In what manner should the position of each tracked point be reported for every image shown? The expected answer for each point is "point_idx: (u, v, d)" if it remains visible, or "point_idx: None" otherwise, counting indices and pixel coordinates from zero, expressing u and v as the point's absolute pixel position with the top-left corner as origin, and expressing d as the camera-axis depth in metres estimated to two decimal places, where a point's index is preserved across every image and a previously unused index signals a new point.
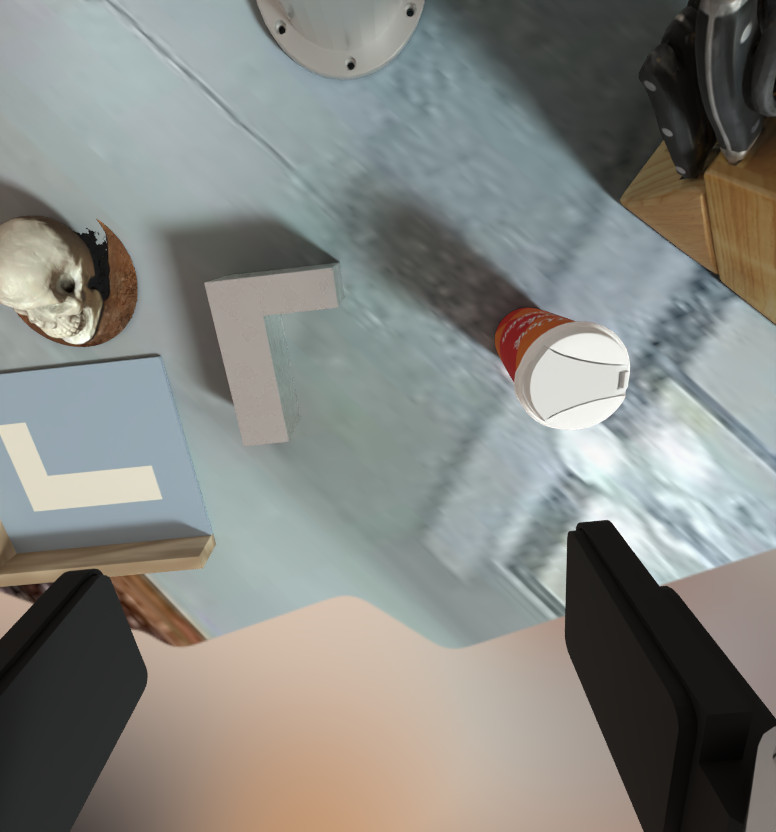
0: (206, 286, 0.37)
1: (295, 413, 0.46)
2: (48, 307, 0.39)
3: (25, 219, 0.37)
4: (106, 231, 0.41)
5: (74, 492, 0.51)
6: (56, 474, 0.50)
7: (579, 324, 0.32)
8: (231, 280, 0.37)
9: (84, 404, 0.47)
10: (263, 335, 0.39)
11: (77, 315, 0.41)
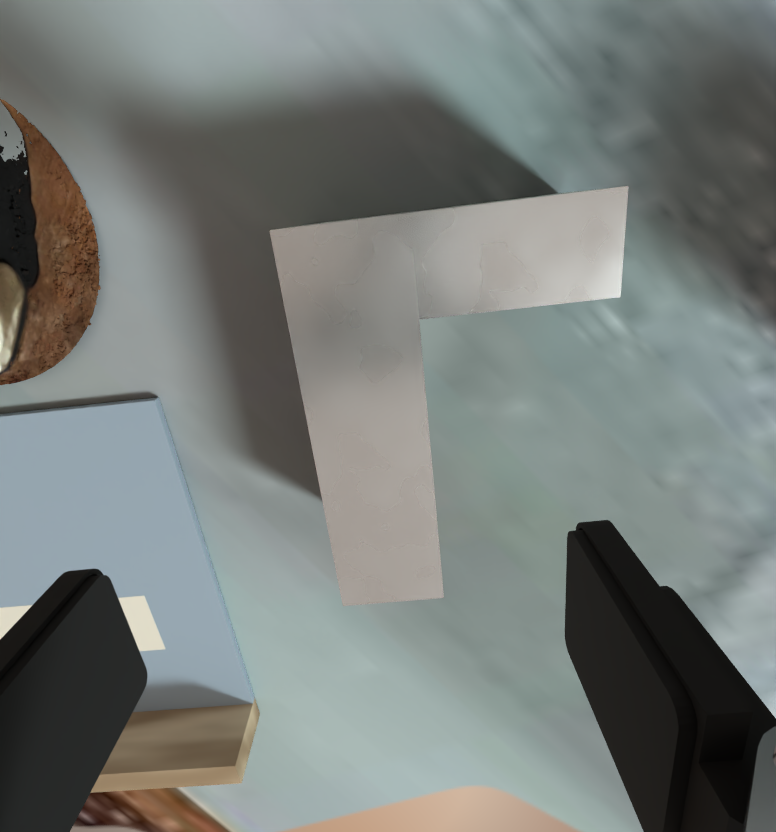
0: (275, 240, 0.14)
1: None
2: None
3: None
4: (23, 128, 0.18)
5: None
6: None
7: None
8: (344, 223, 0.14)
9: (8, 489, 0.24)
10: (413, 368, 0.15)
11: None
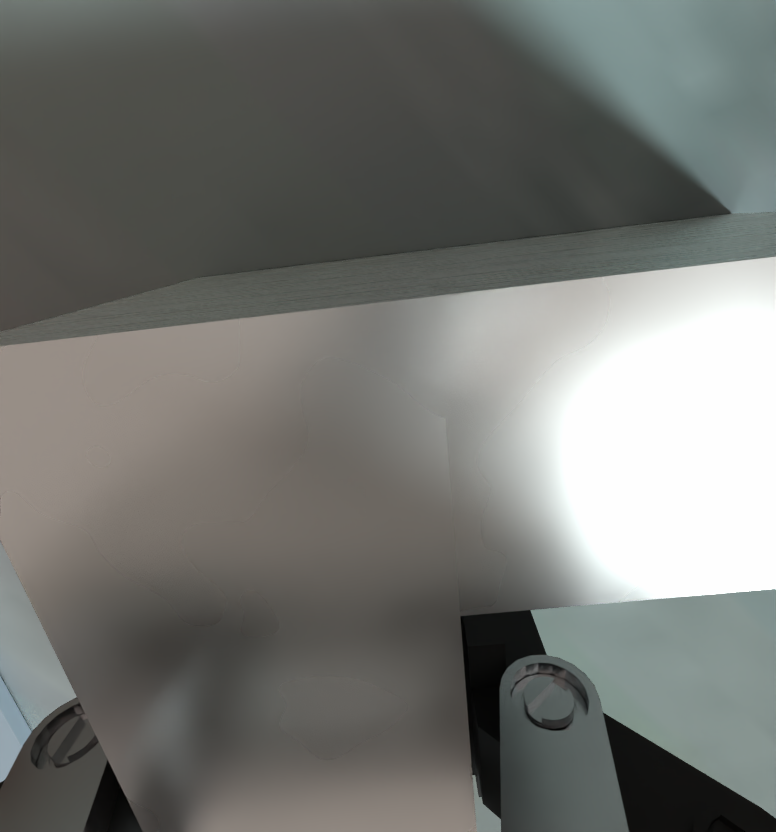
0: None
1: None
2: None
3: None
4: None
5: None
6: None
7: None
8: (189, 333, 0.04)
9: None
10: (439, 728, 0.05)
11: None
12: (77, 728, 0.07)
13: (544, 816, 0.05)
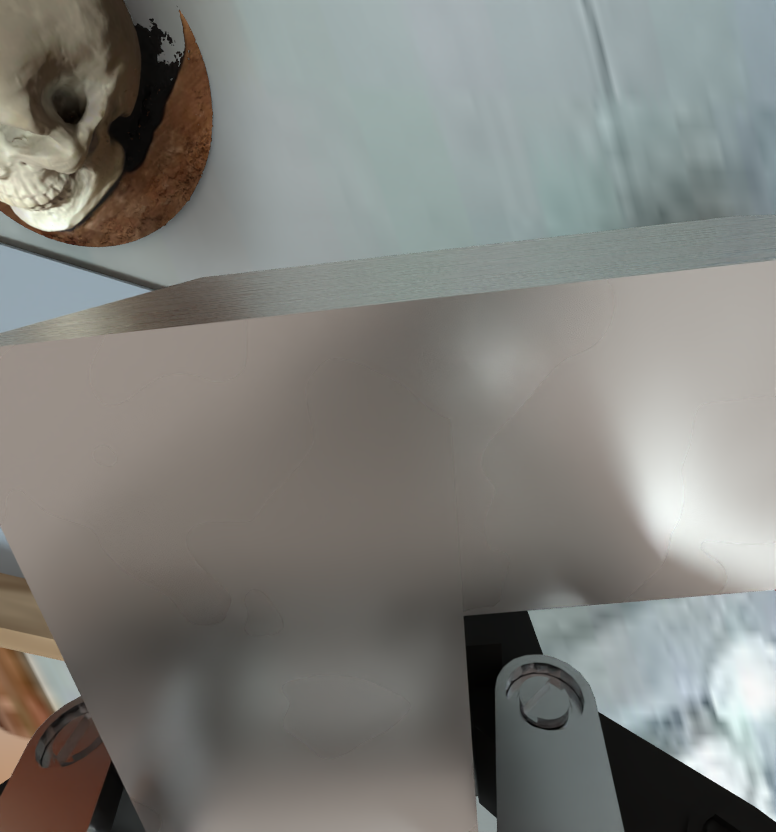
0: None
1: None
2: (5, 131, 0.17)
3: None
4: (188, 44, 0.20)
5: None
6: None
7: None
8: (196, 334, 0.04)
9: None
10: (441, 726, 0.05)
11: (62, 175, 0.20)
12: (82, 727, 0.07)
13: (540, 816, 0.05)
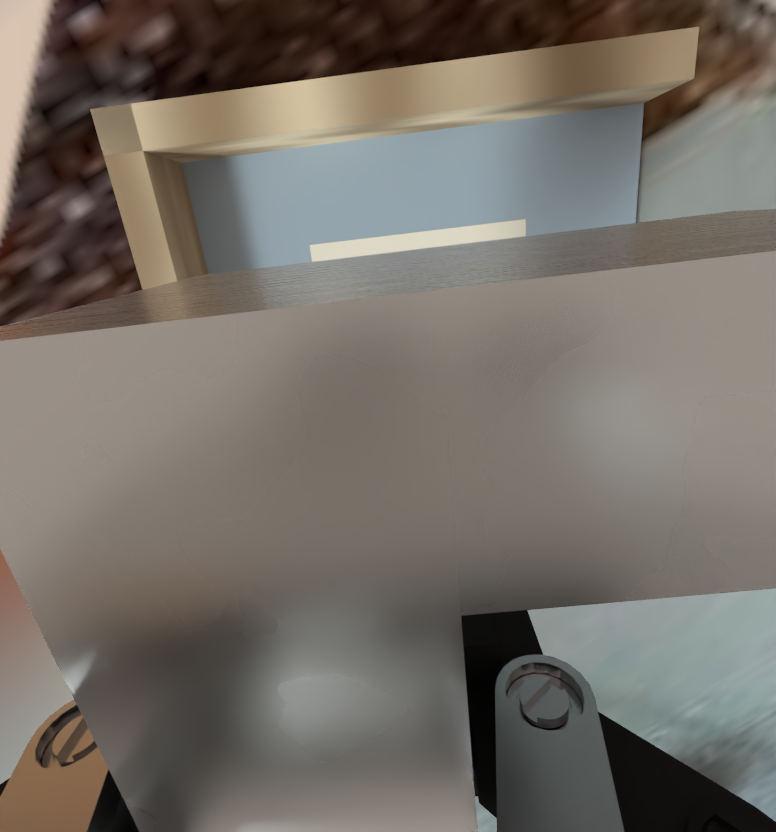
0: None
1: None
2: None
3: None
4: None
5: None
6: None
7: None
8: (186, 328, 0.04)
9: None
10: (440, 729, 0.05)
11: None
12: (82, 727, 0.07)
13: (540, 816, 0.05)
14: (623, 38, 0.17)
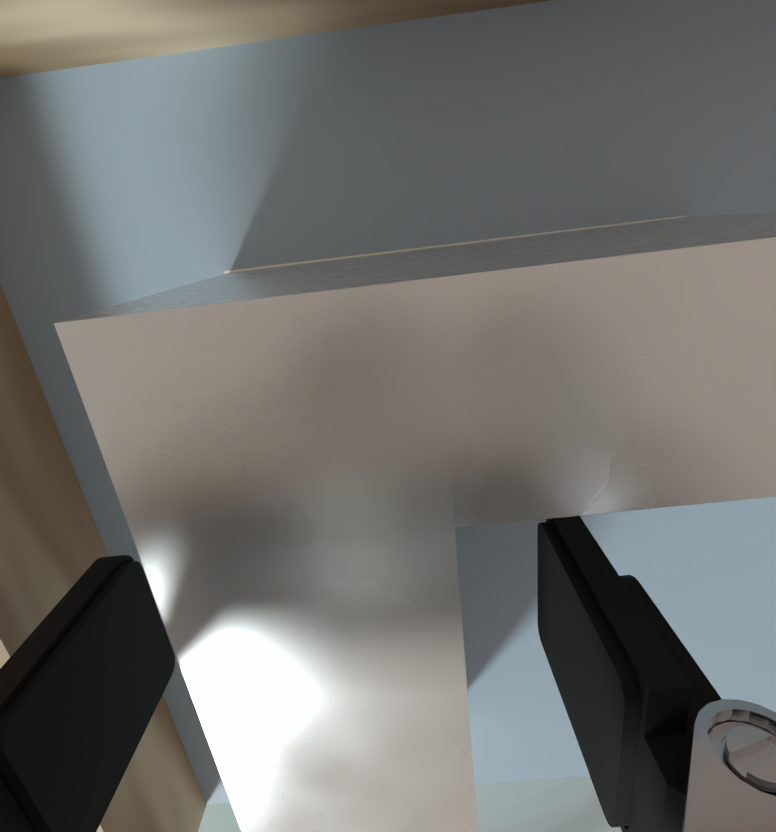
0: (74, 349, 0.05)
1: None
2: None
3: None
4: None
5: None
6: None
7: None
8: (256, 306, 0.05)
9: (693, 570, 0.14)
10: (439, 623, 0.07)
11: None
12: None
13: None
14: None
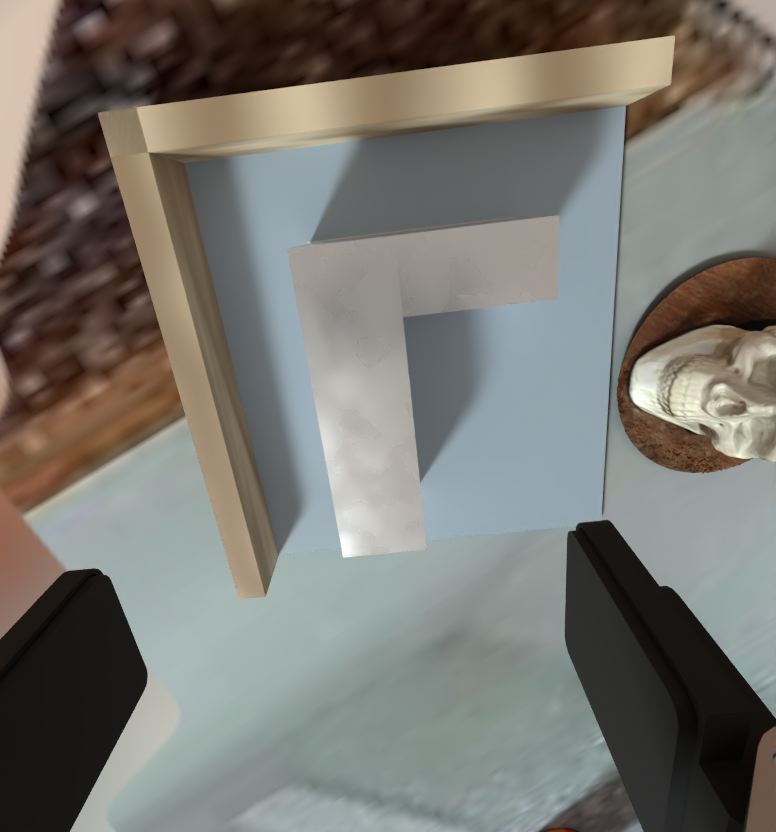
0: (291, 256, 0.18)
1: None
2: (748, 419, 0.22)
3: None
4: None
5: None
6: None
7: None
8: (344, 243, 0.18)
9: (539, 398, 0.26)
10: (399, 355, 0.19)
11: (698, 422, 0.24)
12: None
13: None
14: (604, 46, 0.18)
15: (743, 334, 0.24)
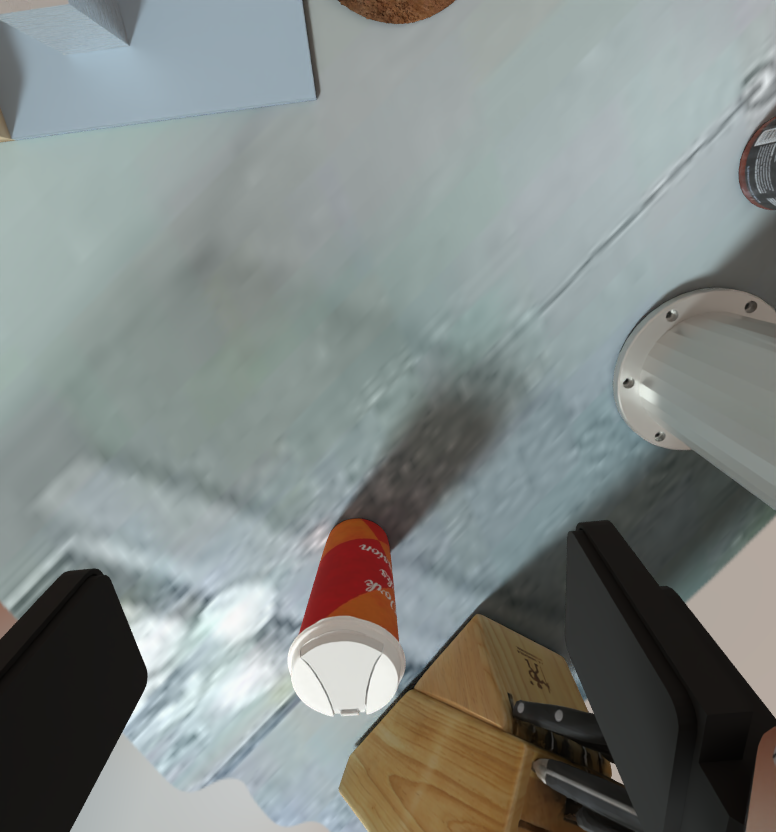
0: None
1: (108, 14, 0.27)
2: None
3: None
4: None
5: None
6: None
7: (403, 664, 0.31)
8: None
9: None
10: None
11: None
12: None
13: None
14: None
15: None
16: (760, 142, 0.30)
